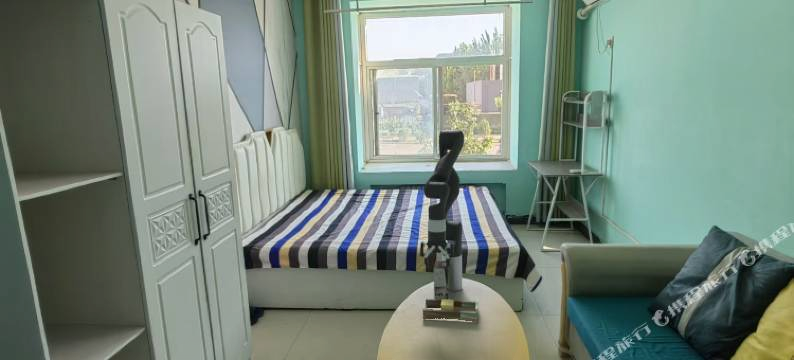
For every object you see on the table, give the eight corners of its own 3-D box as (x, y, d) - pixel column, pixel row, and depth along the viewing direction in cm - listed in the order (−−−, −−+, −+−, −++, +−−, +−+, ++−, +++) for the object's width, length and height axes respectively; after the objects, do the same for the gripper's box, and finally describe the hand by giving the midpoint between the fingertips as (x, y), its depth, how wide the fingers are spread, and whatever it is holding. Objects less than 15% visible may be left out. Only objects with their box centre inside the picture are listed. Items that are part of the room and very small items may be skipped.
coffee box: (448, 302, 205) (447, 268, 201) (434, 301, 206) (433, 268, 202) (450, 292, 213) (449, 260, 210) (436, 292, 215) (435, 260, 211)
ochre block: (442, 307, 196) (441, 299, 195) (453, 308, 195) (453, 299, 194) (441, 313, 191) (440, 304, 190) (452, 314, 190) (452, 305, 189)
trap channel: (426, 308, 200) (425, 295, 199) (478, 311, 196) (478, 298, 195) (423, 319, 191) (422, 306, 189) (477, 323, 186) (477, 309, 185)
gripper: (454, 227, 193) (454, 263, 196) (421, 226, 196) (421, 262, 198) (453, 231, 186) (453, 269, 189) (418, 230, 189) (419, 268, 191)
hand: (437, 266), depth 194 cm, fingers open, 8 cm apart
